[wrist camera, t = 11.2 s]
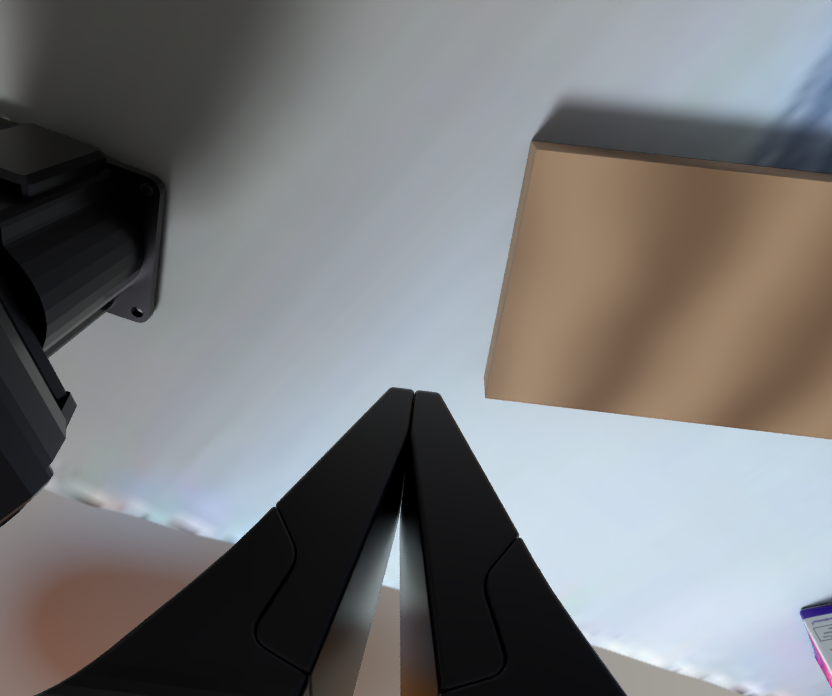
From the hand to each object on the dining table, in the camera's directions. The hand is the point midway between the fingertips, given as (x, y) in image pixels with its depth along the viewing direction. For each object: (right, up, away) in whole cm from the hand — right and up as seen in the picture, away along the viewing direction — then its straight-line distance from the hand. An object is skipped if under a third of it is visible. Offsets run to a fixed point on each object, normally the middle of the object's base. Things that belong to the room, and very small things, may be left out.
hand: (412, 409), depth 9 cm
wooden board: (+14, +3, +11) cm, 19 cm away
